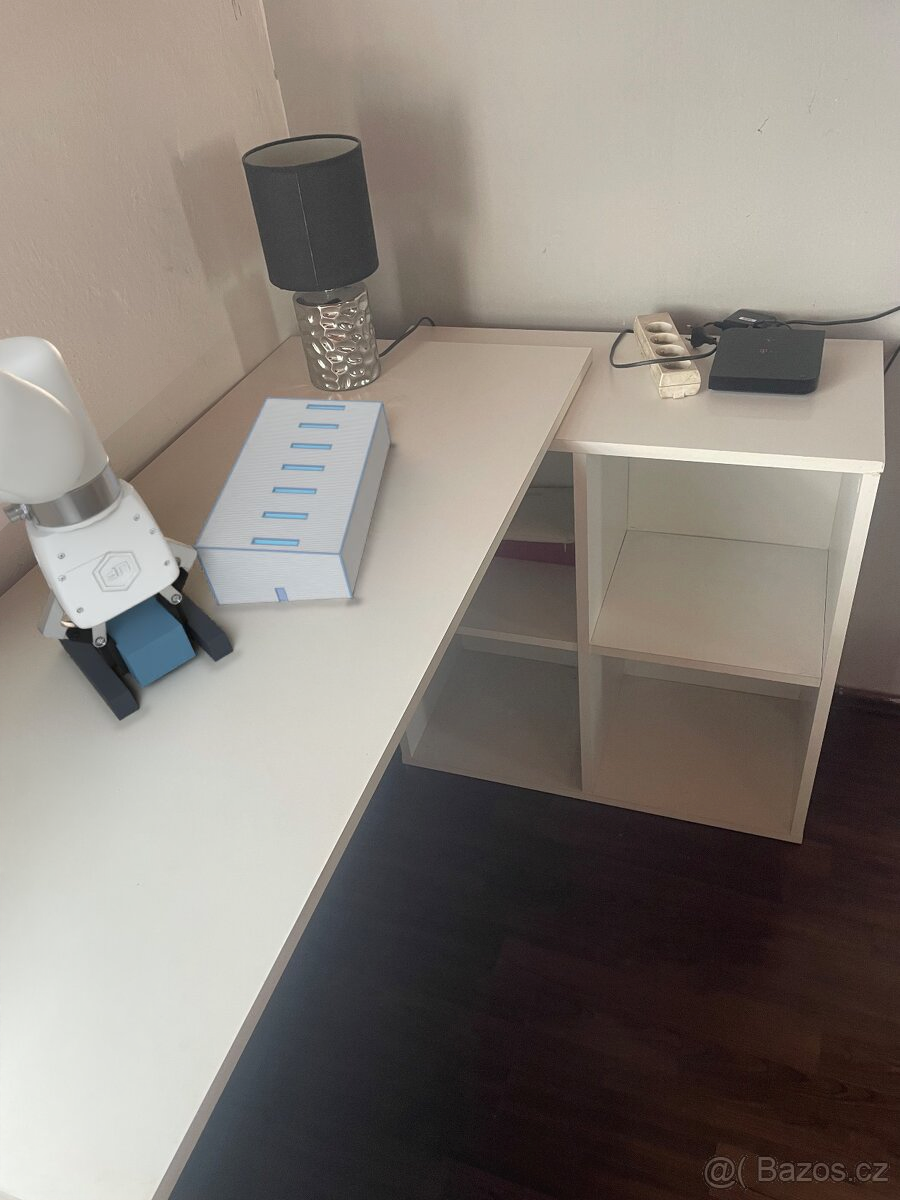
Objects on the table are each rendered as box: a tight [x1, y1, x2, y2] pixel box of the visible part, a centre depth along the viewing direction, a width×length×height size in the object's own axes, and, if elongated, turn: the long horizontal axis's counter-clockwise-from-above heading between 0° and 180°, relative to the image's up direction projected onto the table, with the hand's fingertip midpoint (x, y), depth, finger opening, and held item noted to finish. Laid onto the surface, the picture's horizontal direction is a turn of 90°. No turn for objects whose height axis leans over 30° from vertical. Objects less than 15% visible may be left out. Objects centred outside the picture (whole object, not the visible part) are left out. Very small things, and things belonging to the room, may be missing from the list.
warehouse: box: [193, 396, 392, 606], centre depth 97 cm, size 30×14×8 cm, turn 175°
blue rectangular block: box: [106, 596, 197, 689], centre depth 82 cm, size 6×8×4 cm
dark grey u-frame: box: [58, 590, 234, 721], centre depth 85 cm, size 12×14×2 cm
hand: (150, 647), depth 82 cm, fingers closed on blue rectangular block, 5 cm apart
